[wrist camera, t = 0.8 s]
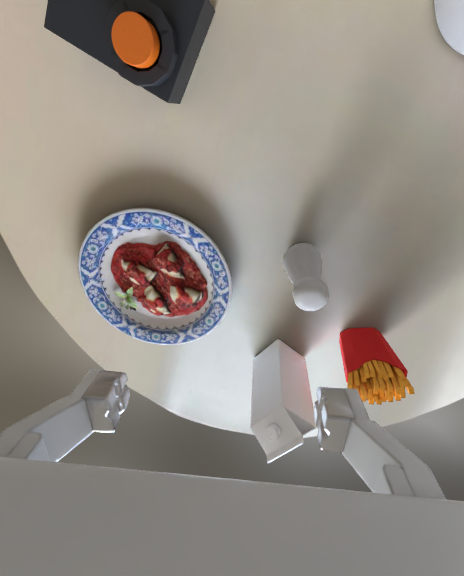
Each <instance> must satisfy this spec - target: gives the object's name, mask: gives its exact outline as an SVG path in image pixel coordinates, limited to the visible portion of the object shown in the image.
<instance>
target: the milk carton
mask: <svg viewBox="0 0 464 576" xmlns="http://www.w3.org/2000/svg"><path fill="white" fill-rule="evenodd" d="M316 428H317V427H316V426H315V420H314V409H313V403H312V397H311V391H310V385H309V379H308V373H307V367H306V361H305V358H304V357H302V356H301V355H300V354H298V353H297V352H296V351H294V350H293V349H291V348H290V347H289V346H287V345H286V344H285V343H283V342H282V341H280V340H279V339H277V340H276V341H274V342H273V343H272V344H271V345H270V346H268V347H267V348H266V349H265V350H263V351H262V352H261V353H260V354H259V355H257V356H256V357H255V358H254V359H253V379H252V403H251V429H252V431H253V433H254V434H255V436H256V438H257V439H258V441H259V443H260V444H261V446H262V448H263V450H264V451H265V453H266V455H267V463H269V462H271V461H273V460H275V459H277V458H279V457H280V456H282V455H284V454H286V453H287V452H289V451H290V450H293V449H294V448H296V447H298V446H300V445H301V444H303V443H304V442H303V436H304V435H306V434H307V433H309V432H311V431H313V430H314V429H316Z"/></svg>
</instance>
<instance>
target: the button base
mask: <svg viewBox="0 0 464 576" xmlns="http://www.w3.org/2000/svg"><path fill="white" fill-rule="evenodd" d="M126 11H133V12H136V13H138V14H140V15H141V16H142V17H144V18H145V19H146V20H148V21H149V22H150V23H151V24H152V25H153V26H154V28H155V30H156V32H157V34H158V37H159V41H160V51H159V56H158V58H157V60H156V62H155V63H154V64H153V65H152V66H150V67H148V68H137V67H135V66H132V65H129V64H127V63H125V62H124V61H123V60H122V59H121V58H120V57H119V56H118V54H117V53H116V51H115V49H114V46H113V43H112V34H111V33H112V26H113V23H114V21H115V19H116V18H117V17H118V16H119V15H120V14H121V13H123V12H126ZM214 13H215V10H214V8H213V6H212V4H211V2H210V0H48V5H47V11H46V18H45V24H44V27H45V28H46V29H48V30H50V31H51V32H53V33H54V34H56V35H58V36H59V37H61V38H63V39H64V40H66V41H68V42H69V43H71V44H72V45H74V46H76V47H77V48H79V49H81V50H82V51H84V52H85V53H87V54H89V55H90V56H92V57H94V58H95V59H97V60H99V61H100V62H102V63H103V64H105V65H107V66H108V67H110V68H112V69H113V70H115V71H117V72H118V73H119V75H120V76H122V77H123V78H125V79H127V80H128V81H130V82H131V83H133V84H135V85H137V86H141V87H143V88H144V89H146V90H148V91H149V92H151V93H152V94H154V95H156V96H157V97H159V98H161V99H162V100H164V101H166V102H167V103H177V104H180V102H181V100H182V97H183V94H184V92H185V89H186V87H187V84H188V81H189V79H190V76H191V73H192V71H193V68H194V66H195V63H196V60H197V58H198V55H199V52H200V50H201V47H202V45H203V42H204V39H205V37H206V34H207V31H208V29H209V26H210V24H211V21H212V18H213V16H214Z"/></svg>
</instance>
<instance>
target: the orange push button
mask: <svg viewBox="0 0 464 576" xmlns="http://www.w3.org/2000/svg"><path fill="white" fill-rule="evenodd" d="M111 34H112V43H113V46H114V49H115V51H116V53H117V54H118V56H119V57H120V58H121V59H122V60H123V61H124V62H125V63H127V64H129V65H132V66H135V67H137V68H148V67H150V66H152V65H153V64H154V63H155V62H156V60H157V58H158V56H159V51H160V41H159V37H158V34H157V32H156V30H155V28H154V26H153V25H152V24H151V23H150V22H149V21H148V20H146V19H145V18H144V17H142V16H141V15H140V14H138V13H136V12H133V11H126V12H123V13H121V14H120V15H119V16H118V17H117V18H116V19H115V21H114V23H113V26H112V33H111Z"/></svg>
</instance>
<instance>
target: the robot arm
mask: <svg viewBox="0 0 464 576" xmlns="http://www.w3.org/2000/svg"><path fill="white" fill-rule="evenodd" d="M434 8H435V16H436V21H437V24H438V27H439V30H440V32H441V34H442V36H443V37H444V39H445V41H446V42H447V43H448V44H449V45H450V46H451V47H452V48H453V49H454V50H455V51H457V52H458V53H460V54H462V55H464V0H434ZM127 380H128V379H127V375H126V373H123V372H113V371H100V370H90V371H88V372H87V374H86V375H85V376H84V377H83V379H82V380H81V381H80V382H79V384H78V385H77V386H76V388H75V389H74V390H73V391H72V393H71V394H70V395H69V396H65V397H63V398H61V399H59V400H58V401H55V402H54V403H52V404H50V405H48V406H46V407H44V408H43V409H41V410H39V411H37V412H35V413H33V414H31V415H30V416H28V417H26V418H24V419H22V420H21V421H19V422H17V423H15V424H13V425H11V426H9V427H8V428H6V429H4V430H3V432H2V433H1V434H0V576H464V501H454V500H446V498H445V496H444V494H443V492H442V490H441V489H440V487H439V485H438V483H437V481H436V479H435V477H434V475H433V474H432V472H431V470H430V468H429V467H428V466H427V465H426V464H424V463H423V462H422V461H421V460H420V459H418V458H417V457H416V456H415V455H414V454H413V453H411V452H410V451H409V450H408V449H407V448H406V447H404V446H403V445H402V444H401V443H400V442H398V441H397V440H396V439H395V438H394V437H392V436H391V435H390V434H389V433H387V432H386V431H385V430H384V429H383V428H382V427H380V426H379V425H378V424H377V423H376V422H375V421H370V419H369V417H368V414H367V412H366V409H365V407H364V405H363V402H362V400H361V397H360V395H359V392H358V390H356V389H348V388H329V387H318V389H317V399H318V400H317V401H316V402H315V406H314V420H315V426H316V427H317V428H318V429H319V431H318V441H319V445H320V450H321V451H326V452H334V453H343V455H344V457H345V458H346V459H347V460H348V462H349V463H350V464H351V465H352V467H353V468H354V469H355V470H356V472H357V473H358V474H359V475H360V477H361V478H362V479H363V480H364V482H365V483H366V484H367V485H368V486H369V488H370V489H371V490H372V492H373V493H371V492H361V491H350V490H340V489H329V488H318V487H309V486H298V485H288V484H277V483H266V482H256V481H246V480H236V479H225V478H215V477H205V476H195V475H184V474H174V473H163V472H153V471H143V470H132V469H121V468H111V467H101V466H90V465H80V464H69V463H59V462H58V461H59V460H60V459H61V458H63V457H64V456H65V455H66V454H68V453H69V452H70V451H71V450H72V449H74V448H75V447H76V446H77V445H79V444H80V443H81V442H82V441H83V440H85V439H86V438H87V437H88V436H90V435H91V434H92V433H93V432H110V433H113V432H114V430H115V428H116V426H117V425H118V423H119V421H120V415H119V414H121V413H122V412H124V411H125V409H126V407H127V405H128V401H129V393H130V392H129V388H128V387H127V386H126V382H127Z"/></svg>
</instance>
